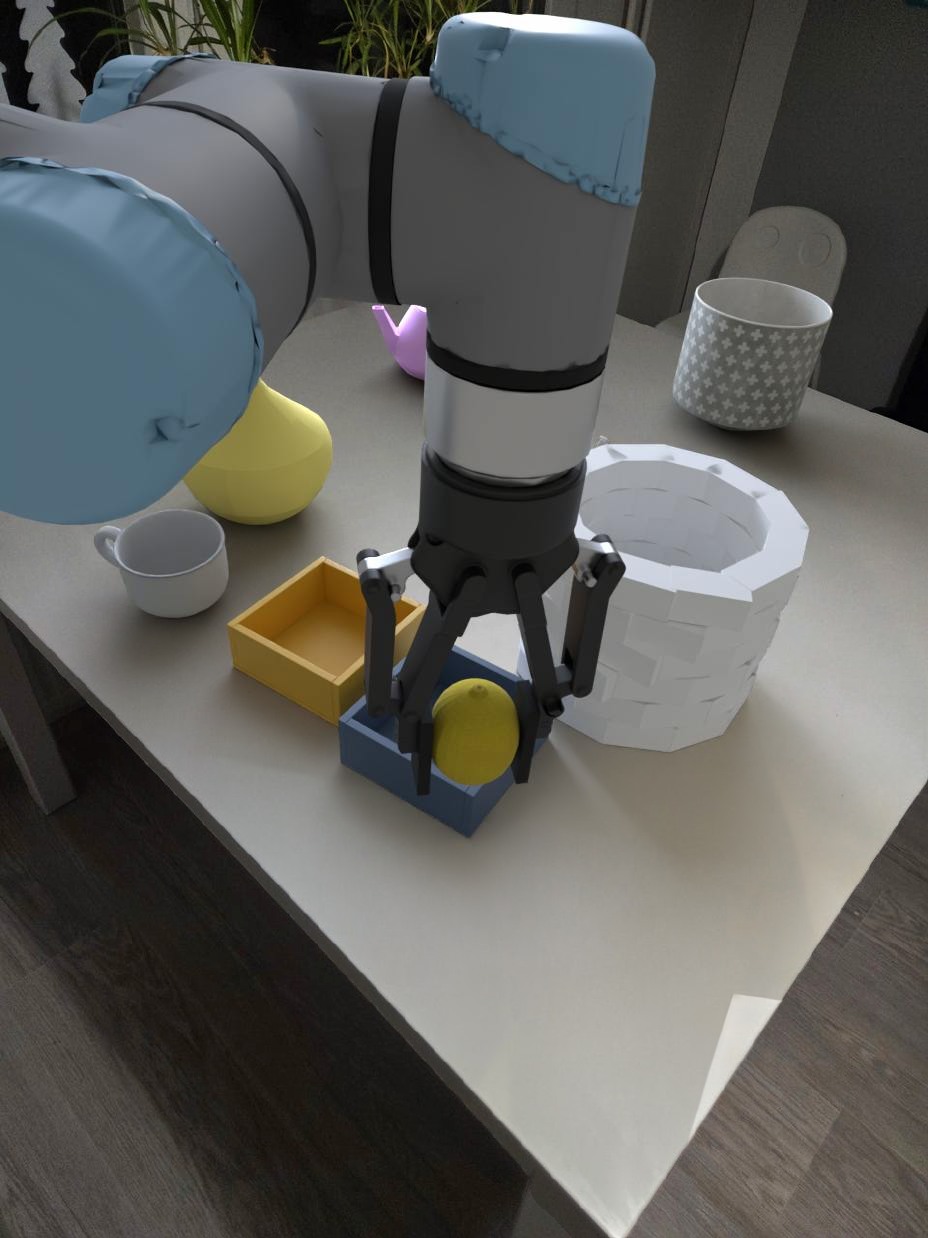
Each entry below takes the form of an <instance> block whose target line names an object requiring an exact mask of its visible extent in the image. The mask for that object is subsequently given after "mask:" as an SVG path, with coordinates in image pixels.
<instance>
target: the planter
mask: <svg viewBox="0 0 928 1238" xmlns="http://www.w3.org/2000/svg"><path fill="white" fill-rule="evenodd" d="M833 311H834V310H833V309H832V307H831V306H830V304H829V303H827V302H826V300H824V299H822V297H821V298H820V297H819V296H818V295H815V293H811V292H809V291H807V290H805V289H802V288H799V287H797V286H793V285H789V284H785V283H782V282H777V281H771V280H766V279H760V278H759V279H758V278H751V277H750V278H749V277H723V278H722V277H721V278H714V279H711V280H710V279H709V280H708V281H704V282H702V283H701V284H699V285H698V286H697V287H696V289H695V292H694V297H693V301H692V305H691V308H690V313H689V317H688V321H687V324H686V330H685V333H684V338H683V342H682V345H681V346H682V347H681V351H680V353H679V358H678V362H677V366H676V371H675V375H674V379H673V383H672V388H671V394H672V395H671V396H672V398H673V399H674V401H675V403H677V404H678V406H680V407H681V409H684V411H686V412H688V413H690V414H691V415H693V416H695V417H697V418H699V419H700V420H702V421H704V423H705V422H706V423H707V424H709V425H710V426H711V425H712V426H714V427H717V428H720V429H723V430H728V431H735V432H749V431H765V430H773V429H778V428H782V427H786V426H787V425H789V424H791V423H793V422H794V421H795V419H796V418H797V417H798V415H799V411H800V408H801V406H802V404H803V400H804V397H805V395H806V391H807V389H808V385H809V384H810V381H811V378H812V375H813V372H814V370H815V367H816V364H817V361H818V358H819V356H820V353H821V350H822V347H823V344H824V341H825V339H826V335H827V333H828V330H829V327H830V324H831V322H832V319H833V316H834V312H833Z"/></svg>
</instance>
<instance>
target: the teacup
mask: <svg viewBox="0 0 928 1238" xmlns="http://www.w3.org/2000/svg"><path fill="white" fill-rule="evenodd" d="M107 539H108V540H110V541H112V542H113V546H111V544H110V543H109V541H108V540H107ZM93 545H94V547H95V549H96V551H97V552H98V554H99V556H101V557H102V558H103V559H104V560H105V561H106V562H108V563H109V564H110V565H112V566H114V567H116V568H117V569H118V570H119V573H120V576H121V579H122V582H123V585H124V587H125V590H126V592H127V594H128V596H129V598H130V599H131V600H132V602H133V603H134V604H135V605H136V606H137V607H138V608H139V609H140V610H142V611H144V612H145V613H148V614H150V615H153V616H156V617H160V618H169V619H171V618H172V619H173V618H174V619H179V618H186V617H190V616H194V615H197V614H199V613H201V612H203V611H205V610H206V609H208V608H210V607H211V606H212V605H214V604H215V603H217V601H219V599H220V598H222V595H223V594H224V593H225V591H226V587H227V585H228V582H229V574H230V573H229V571H230V570H229V561H228V560H229V559H228V553H227V549H226V535H225V532H224V529H223V527H222V525H221V523H219V522H218V521H217V520H216V519H215V518H213V517H212V516H210V515H209V514H206V513H203V512H201V511H197V510H191V509H180V508H176V509H175V508H173V509H164V510H159V511H154V512H151V513H149V514H145V515H143V516H141V517H139V518H136V519H135V520H134V521H132V522H130V523H129V524H128V525H126V526H125V527H124V528H123V529H120V528H117V527H115V526H112V525H105V526H102V527H100V528H99V529H98V530H97V531H96V532H95V534H94V536H93Z"/></svg>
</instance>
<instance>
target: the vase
mask: <svg viewBox="0 0 928 1238" xmlns="http://www.w3.org/2000/svg"><path fill="white" fill-rule="evenodd" d="M333 448H334V445H333V439H332V436H331V433H330V430H329V428H328V426H327V424H326V422H325V420H323V419H322V418H321V416H320V415H319V414H317V413H316V412H314V411H313V410H312V409H311V410H310V409H309V408H308V407H306V406H304V405H302V404H300V403H298V402H296V401H294V400H292V399H290V398H288V397H286V396H285V395H283V394H281V393H280V392H278V391H276V390H274V389H273V388H271V387H269V386H268V385H267V384H266V383H265V382H264V381H263V380H262V378H261V377H260V378H259V381H258V384H257V386H256V387H255V388H254V390H253V392H252V395H251V398H250V400H249V403H248V406H247V409H246V411H245V412H244V414H243V416H242V417H241V418H240V419H239V420H238V421H237V422H236V423H235V424H234V425H233V427H232V429H231V431H230V432H229V433H228V434H227V435H226V436H225V437H224V438H223V439H222V440H220V441H219V442H218V443H217V444H216V445H214V446H213V447H212V448H211V449H210V450H209V451H208V452H207V453H206V454H205V455H204V456H203V457H202V459H201V460H200V461H199V462H198V463H197V464H196V465H195V466H194V467H193V468H192V469H191V470H190V471H189V472H188V473H187V474H186V475H185V476H184V477H183V478H182V479H181V481H183V483H184V484H185V486H186V487H187V488H188V490H189V491H190V493H191V494H192V495H193V497H194V498H195V499H196V500H197V501H198V502H199V503H200V504H202V505H203V506H205V508H207V509H209V510H210V511H211V512H213V513H214V514H215V515H217V516H219V517H221V518H223V519H226V520H228V521H231V522H234V523H238V524H242V525H246V526H247V525H248V526H264V525H272V524H275V523H280V522H282V521H285V520H288V519H289V518H291V517H294V516H295V515H298V514H299V513H300V512H302V511H303V510H304V509H306V508H307V507H308V506H309V505H310V503H311V502H312V501H313V500H314V499H315V498H316V497H317V495H319V493H320V492H321V490H322V489H323V487H324V484H325V482H326V480H327V478H328V474H329V473H330V470H331V468H332V463H333V459H334V450H333Z"/></svg>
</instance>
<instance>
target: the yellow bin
mask: <svg viewBox="0 0 928 1238" xmlns="http://www.w3.org/2000/svg"><path fill="white" fill-rule="evenodd" d="M401 596H402V597H401V599H400V601H398V602H394V607H395V612H396V631H395V645H394V659H393V668H394V667H395V666H396V665H397V664H398V663H399V662H401V661H402V660H403V659H404V658H405V657H406V656H407V654H408V651H409V649H410V647H411V644H412V642H413V639H414V637H415V634H416V632H417V630H418V627H419V625H420V622H421V620H422V617H423V615H424V613H425V610H426V608H427V605H425V604H424V603H421V602H419V601H417V600H415V599H412V598H410V597H408V596H406V595H404V594H402V595H401ZM365 626H366V601H365V599H364V596H363V594H362V592H361V586H360V580H359V574H358V572H356V571H354V570H352V569H350V568H348V567H346V566H344V565H342V564H339V563H337V562H335V561H333V560H331V559H330V558H328V557H326V556H323V555H322V556H320V557H318V558H317V559H315V560H314V561H313V562H311V563H310V564H309V565H307V566H306V567H304V568H303V569H301V570H300V571H299V572H298V573H296V574H295V575H293V576H291V578H289V579H288V580H286V581H284V583H282V584H281V585H279V586H278V587H276V588H275V589H274V590H272V591H271V592H269V593H268V594H267V595H265V596H263V597H262V598H261V599H260V600H258V601H257V602H255V603H254V604H252V605H251V606H250V607H249V608H247V609H246V610H244V611H242V612H241V613H240V614H239V615H237V616H235V618H233V619H232V620H230V621H229V622H227V623H226V631H227V637H228V643H229V649H230V653H231V660H232V666H233V668H235V669H236V670H238V671H240V672H242V673H243V674H245V675H247V676H249V677H250V678H251V679H254V680H256V681H257V682H259V683H261V684H262V685H264V686H266V687H267V688H270V689H271V690H272V691H274V692H276V693H278V694H280V695H281V696H283V697H285V698H286V699H287V700H290V701H292V702H293V703H295V704H297V705H298V706H300V707H302V708H304V709H305V710H307V711H309V712H311V713H313V714H314V715H316V716H318V717H320V718H321V719H322V720H324V721H326V722H328V723H330V725H331V724H332V725H333V726H334V727H337V728H338V719H339V718H340V717H341V716H342V715H343V714H345V713H346V712H347V711H348V710H349V709H350V708H351V707H352V706H353V705H354V704H355V703H356V702H357V701H359V700H360V699H361V698H362V697H363V696H364V695H365V690H364V682H363V675H364V651H365Z"/></svg>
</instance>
